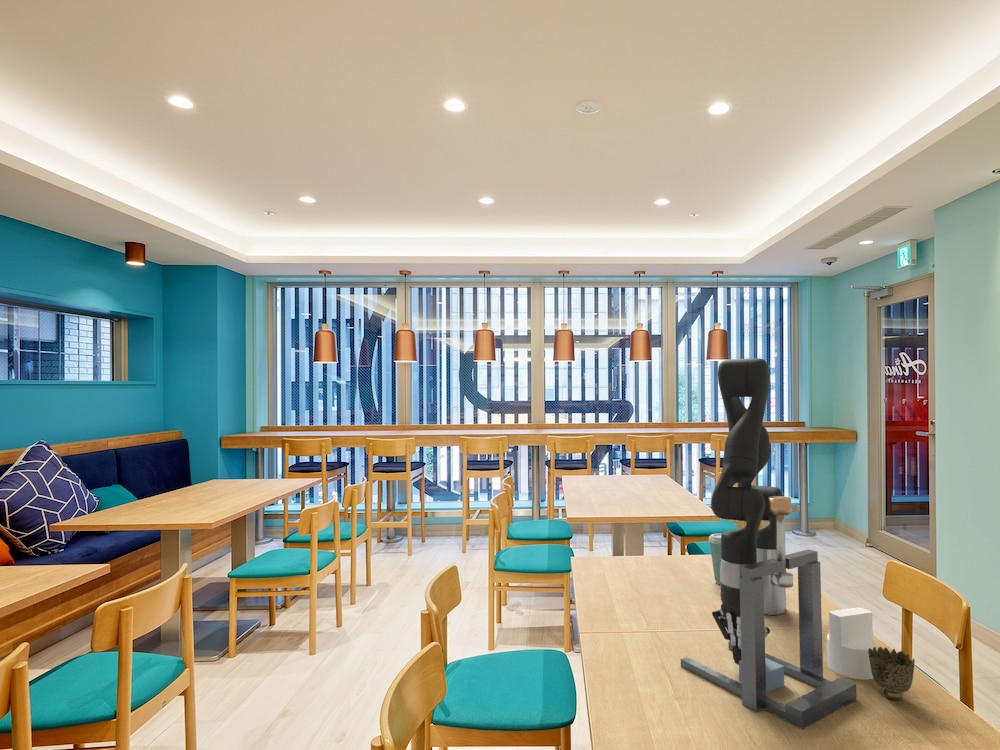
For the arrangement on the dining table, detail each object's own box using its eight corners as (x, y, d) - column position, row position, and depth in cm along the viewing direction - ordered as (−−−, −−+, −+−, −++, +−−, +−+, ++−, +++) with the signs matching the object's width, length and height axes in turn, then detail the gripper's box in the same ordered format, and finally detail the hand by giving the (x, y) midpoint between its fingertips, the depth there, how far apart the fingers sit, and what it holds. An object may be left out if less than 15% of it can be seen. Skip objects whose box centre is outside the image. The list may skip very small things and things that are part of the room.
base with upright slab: (853, 682, 115) (851, 622, 115) (817, 662, 123) (816, 606, 124) (887, 676, 117) (886, 617, 117) (850, 656, 126) (848, 602, 126)
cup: (924, 709, 105) (922, 665, 105) (879, 705, 106) (878, 662, 106) (903, 688, 112) (902, 647, 112) (862, 685, 113) (861, 644, 114)
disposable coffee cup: (701, 580, 177) (700, 532, 178) (726, 575, 182) (725, 528, 182) (727, 591, 167) (726, 540, 168) (753, 585, 172) (752, 536, 172)
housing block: (757, 673, 119) (757, 644, 119) (784, 686, 114) (783, 655, 114) (739, 680, 116) (738, 651, 116) (765, 694, 111) (765, 663, 111)
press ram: (778, 579, 114) (776, 495, 115) (797, 585, 111) (795, 498, 112) (766, 583, 112) (764, 497, 113) (785, 589, 109) (783, 500, 110)
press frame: (739, 644, 132) (737, 532, 133) (862, 696, 109) (858, 561, 110) (674, 668, 121) (672, 546, 122) (795, 732, 98) (791, 581, 99)
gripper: (779, 587, 116) (780, 672, 115) (724, 570, 127) (725, 647, 127) (756, 594, 112) (758, 682, 112) (701, 575, 124) (703, 656, 123)
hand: (740, 664), depth 119 cm, fingers closed
